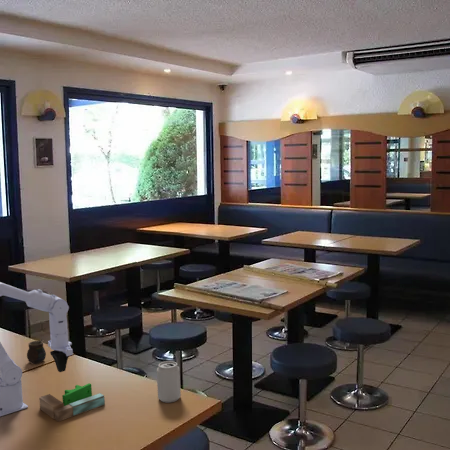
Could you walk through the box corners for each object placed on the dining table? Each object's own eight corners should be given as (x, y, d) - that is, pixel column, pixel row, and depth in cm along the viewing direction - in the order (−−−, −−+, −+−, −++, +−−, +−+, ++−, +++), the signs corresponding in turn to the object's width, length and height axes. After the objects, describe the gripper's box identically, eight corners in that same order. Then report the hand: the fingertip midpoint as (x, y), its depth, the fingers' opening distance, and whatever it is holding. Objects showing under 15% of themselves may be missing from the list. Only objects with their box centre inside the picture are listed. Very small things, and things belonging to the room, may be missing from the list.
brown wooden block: (53, 419, 169) (53, 406, 168) (40, 409, 176) (39, 397, 176) (65, 414, 171) (64, 402, 171) (51, 405, 179) (50, 393, 178)
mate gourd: (36, 357, 224) (34, 334, 223) (50, 360, 221) (49, 336, 220) (23, 363, 218) (21, 339, 216) (38, 366, 215) (36, 341, 213)
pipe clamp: (84, 394, 187) (83, 381, 186) (92, 396, 185) (91, 383, 184) (57, 406, 178) (57, 393, 177) (65, 409, 176) (64, 395, 175)
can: (185, 398, 181) (184, 363, 180) (168, 405, 175) (166, 369, 174) (170, 392, 186) (168, 358, 185) (153, 399, 181) (151, 364, 179)
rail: (58, 421, 167) (57, 411, 166) (54, 418, 169) (53, 409, 168) (104, 405, 178) (104, 395, 177) (100, 402, 180) (100, 393, 179)
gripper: (80, 334, 182) (82, 373, 184) (60, 325, 193) (63, 362, 195) (60, 339, 178) (63, 379, 179) (41, 330, 188) (44, 368, 190)
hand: (61, 371), depth 187 cm, fingers closed
